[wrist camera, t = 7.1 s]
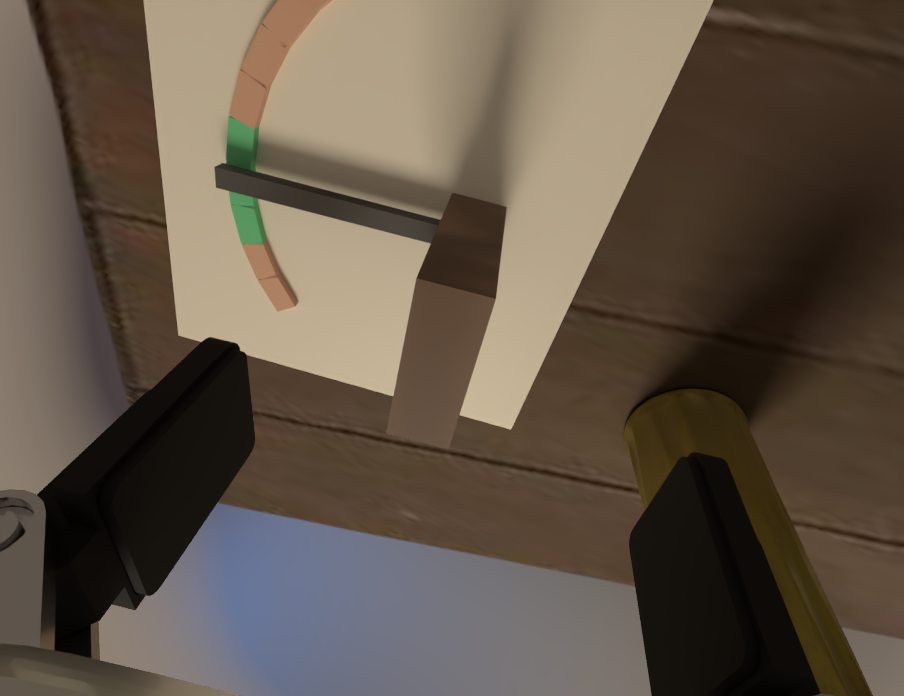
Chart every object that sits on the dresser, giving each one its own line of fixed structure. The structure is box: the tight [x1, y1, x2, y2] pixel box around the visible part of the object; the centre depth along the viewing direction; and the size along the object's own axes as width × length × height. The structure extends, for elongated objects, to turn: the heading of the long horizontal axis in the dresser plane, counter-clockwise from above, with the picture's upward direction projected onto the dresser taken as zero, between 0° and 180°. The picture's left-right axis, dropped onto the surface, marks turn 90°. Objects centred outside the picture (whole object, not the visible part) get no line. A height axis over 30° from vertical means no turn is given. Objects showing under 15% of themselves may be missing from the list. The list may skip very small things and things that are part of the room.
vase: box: [624, 388, 873, 696], centre depth 20 cm, size 6×6×14 cm
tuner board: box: [144, 0, 713, 429], centre depth 20 cm, size 18×20×2 cm
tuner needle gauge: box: [214, 163, 507, 449], centre depth 16 cm, size 11×5×9 cm, turn 78°
